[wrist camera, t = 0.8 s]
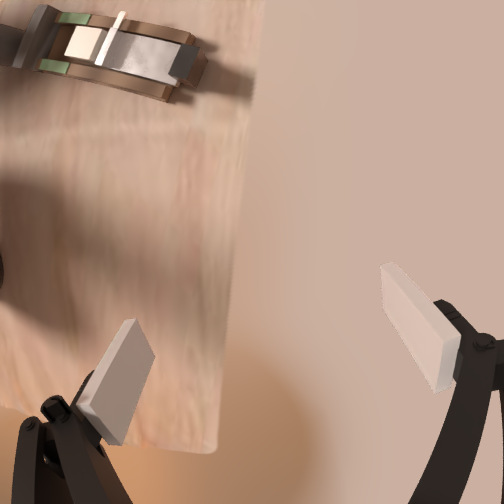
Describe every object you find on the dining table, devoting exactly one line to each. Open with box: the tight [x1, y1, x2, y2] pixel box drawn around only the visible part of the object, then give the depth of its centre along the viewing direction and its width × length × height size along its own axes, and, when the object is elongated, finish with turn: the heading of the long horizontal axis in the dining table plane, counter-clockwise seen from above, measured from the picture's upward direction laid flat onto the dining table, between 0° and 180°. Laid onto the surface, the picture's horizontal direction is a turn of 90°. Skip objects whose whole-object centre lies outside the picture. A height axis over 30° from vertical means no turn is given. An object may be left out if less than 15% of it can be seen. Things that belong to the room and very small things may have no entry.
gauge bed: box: [12, 5, 195, 102], centre depth 28 cm, size 22×9×6 cm, turn 68°
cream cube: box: [64, 26, 108, 63], centre depth 28 cm, size 4×4×4 cm
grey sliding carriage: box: [95, 11, 208, 88], centre depth 28 cm, size 12×7×6 cm, turn 68°
